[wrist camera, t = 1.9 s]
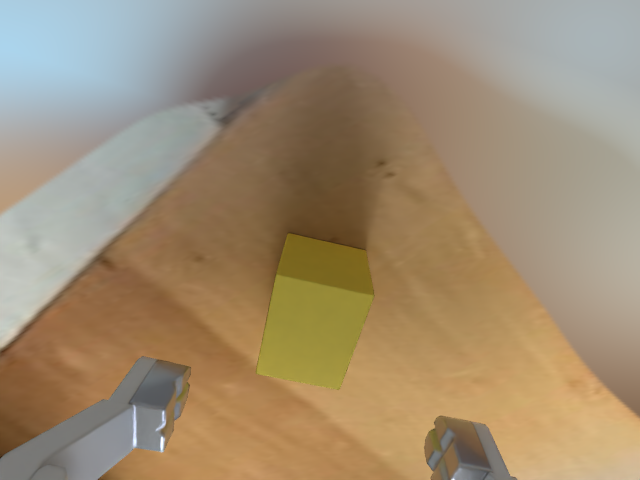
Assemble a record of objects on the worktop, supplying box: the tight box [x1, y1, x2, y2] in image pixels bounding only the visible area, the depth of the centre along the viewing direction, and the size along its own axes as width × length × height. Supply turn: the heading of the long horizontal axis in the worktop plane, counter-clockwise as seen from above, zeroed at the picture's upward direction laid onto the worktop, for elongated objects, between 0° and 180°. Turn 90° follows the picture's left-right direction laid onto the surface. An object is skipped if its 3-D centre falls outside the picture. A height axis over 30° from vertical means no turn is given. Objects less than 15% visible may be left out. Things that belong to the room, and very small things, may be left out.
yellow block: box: [256, 233, 374, 390], centre depth 14 cm, size 5×4×4 cm
